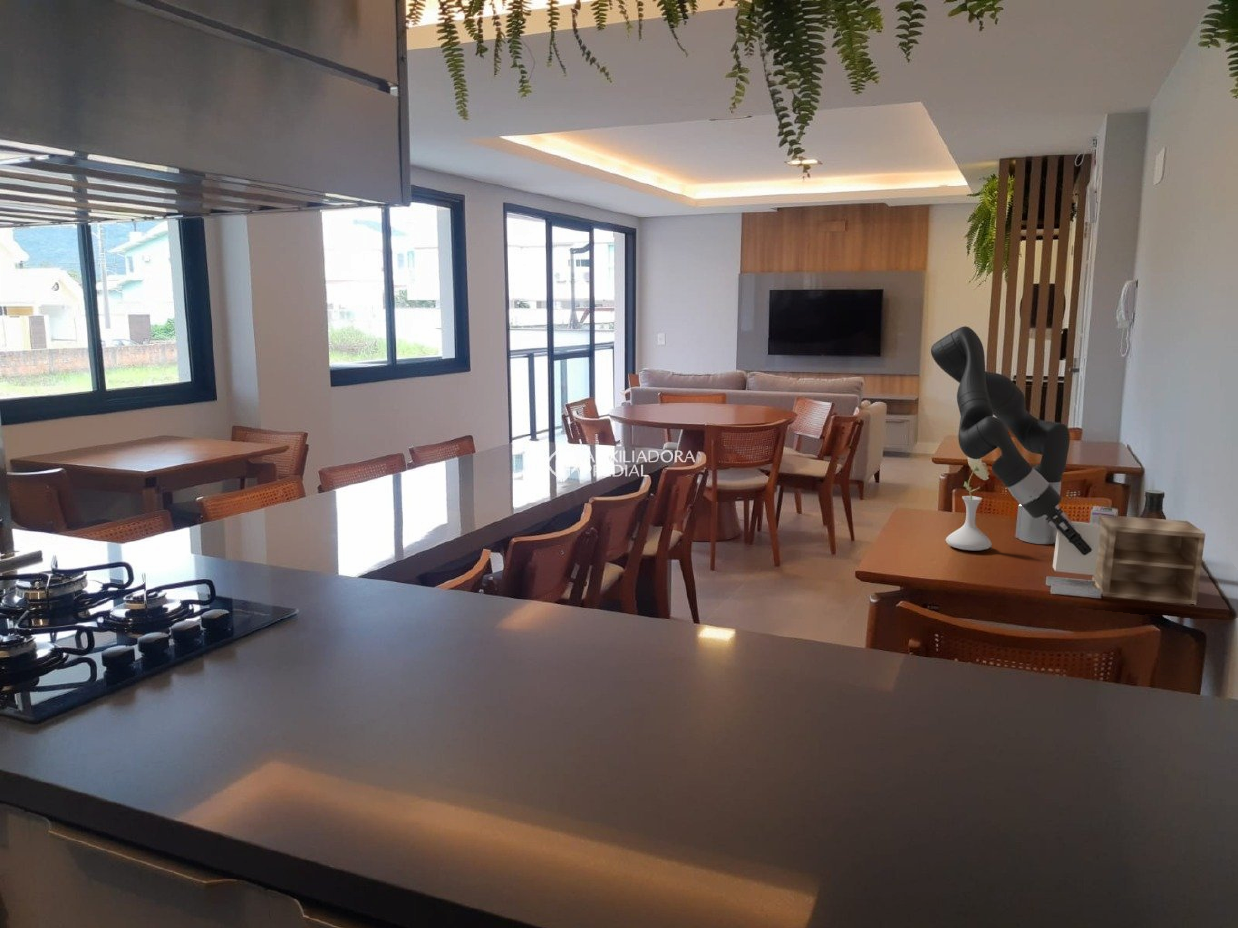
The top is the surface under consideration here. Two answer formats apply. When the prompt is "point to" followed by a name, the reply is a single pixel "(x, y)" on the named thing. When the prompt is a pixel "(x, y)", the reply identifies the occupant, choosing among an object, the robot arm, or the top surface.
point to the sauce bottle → (1153, 505)
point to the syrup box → (1101, 513)
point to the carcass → (1149, 559)
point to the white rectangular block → (1070, 556)
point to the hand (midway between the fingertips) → (1085, 550)
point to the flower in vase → (971, 516)
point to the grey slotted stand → (1073, 587)
